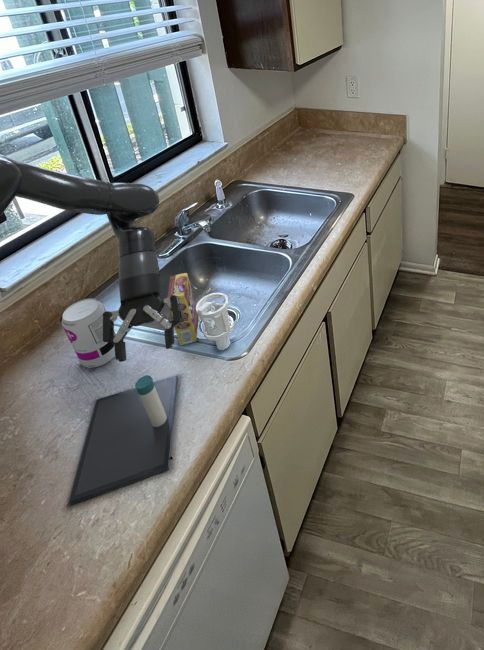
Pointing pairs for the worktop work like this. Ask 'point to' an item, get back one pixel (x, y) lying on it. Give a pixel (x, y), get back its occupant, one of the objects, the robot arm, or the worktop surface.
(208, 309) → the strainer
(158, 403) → the teal capped white tube
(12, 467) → the worktop surface
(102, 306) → the supplement can
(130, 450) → the tablet
